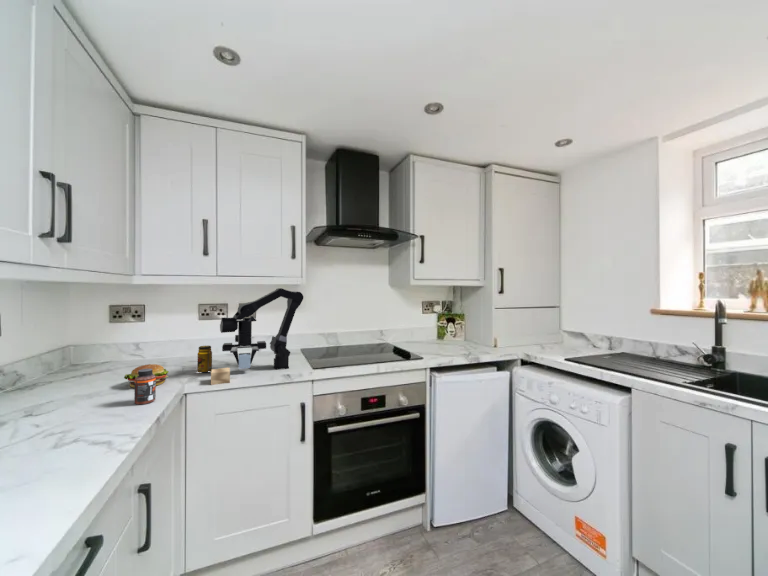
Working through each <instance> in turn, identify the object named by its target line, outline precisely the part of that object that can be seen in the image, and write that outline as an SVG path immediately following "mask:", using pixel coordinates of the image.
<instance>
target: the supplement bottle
mask: <svg viewBox="0 0 768 576" xmlns="http://www.w3.org/2000/svg"><path fill="white" fill-rule="evenodd" d="M138 375H139V376H137V377H136V378H135V388H134V391H133V392H134V399H133V401H134V404H136V405H140V406H141V405H147V404H151V403H153V402H155V400H156V397H157V396H156V392H157V390H156V389H157V388H156V376H155V375H153V371H152V369H141V370H139V371H138Z"/></svg>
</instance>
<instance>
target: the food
mask: <svg viewBox="0 0 768 576" xmlns="http://www.w3.org/2000/svg"><path fill="white" fill-rule="evenodd" d="M141 369H152V371H153V375H155V376H156V386H160V385H162V384H165V381H166V380H167V378H169V375H168V374H169V370H167V369H166V368H165V367H164V366H162V365H160V364H155V363H149V364H142V365H139V366H137V367H135V368H133V369H132V370H131V373H128V374H127V373H125V375H124V377H123V378H124V379H125V380H127V381H128V382H129V387H130V388H133V389H135V378H136V377H137V376H139V375H138V371H139V370H141Z"/></svg>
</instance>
